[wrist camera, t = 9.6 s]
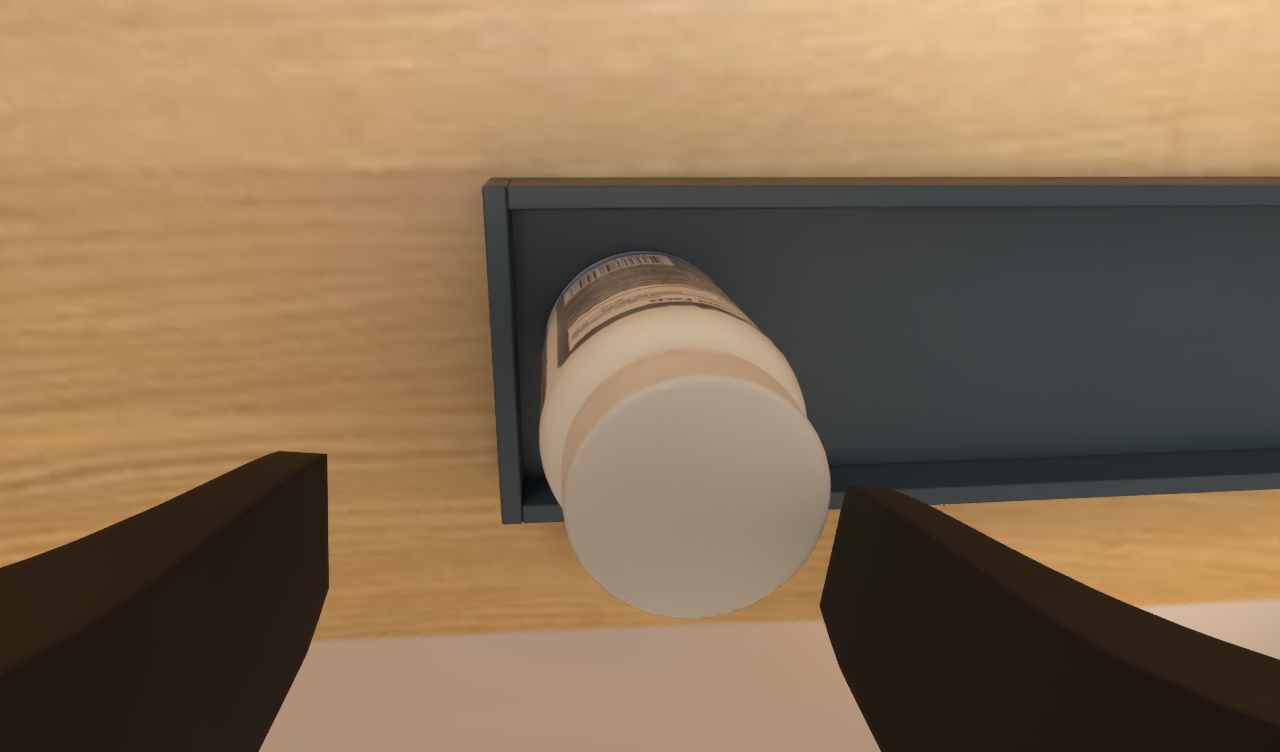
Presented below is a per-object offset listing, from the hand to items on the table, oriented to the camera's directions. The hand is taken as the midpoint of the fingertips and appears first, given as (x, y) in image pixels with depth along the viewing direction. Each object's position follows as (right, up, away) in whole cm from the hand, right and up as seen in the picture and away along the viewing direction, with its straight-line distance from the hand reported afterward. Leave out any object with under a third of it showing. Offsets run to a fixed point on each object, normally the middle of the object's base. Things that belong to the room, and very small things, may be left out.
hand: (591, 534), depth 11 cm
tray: (+16, +3, +10) cm, 19 cm away
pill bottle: (+1, +3, +8) cm, 9 cm away
